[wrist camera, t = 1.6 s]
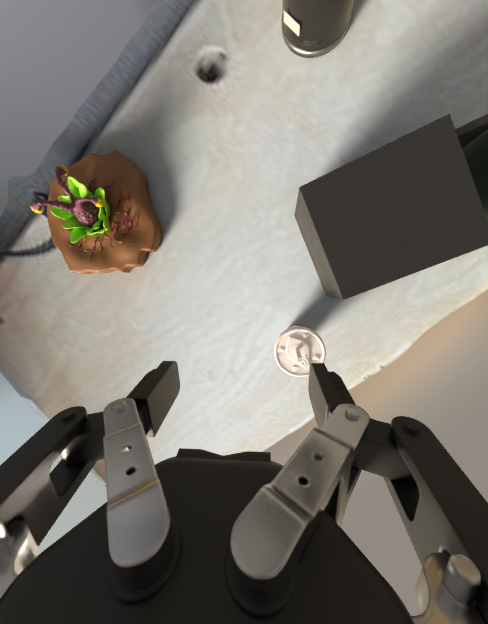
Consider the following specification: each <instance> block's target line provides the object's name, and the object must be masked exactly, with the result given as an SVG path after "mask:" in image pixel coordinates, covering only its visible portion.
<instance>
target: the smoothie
mask: <svg viewBox="0 0 488 624" xmlns="http://www.w3.org/2000/svg"><path fill="white" fill-rule="evenodd" d="M274 355H275V359H276V362H277V364H278V365H279V367H280V368H281V369H282V370H283V371H284V372H286V373H287V374H289V375H292V376H296V377H305V376H309V370H310V363H324V360H325V356H326V350H325V345H324V343H323V341H322V339H321V337H320V336H319V335H318V334H317V333H316V332H315V331H313V330H312V329H309V328H307V327H300V326H297V325H295V326H291V327H289V328H288V329H287V330H285V331H284V332H282V333H281V334H280V336H279V337H278V338H277V340H276V343H275V346H274Z"/></svg>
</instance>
